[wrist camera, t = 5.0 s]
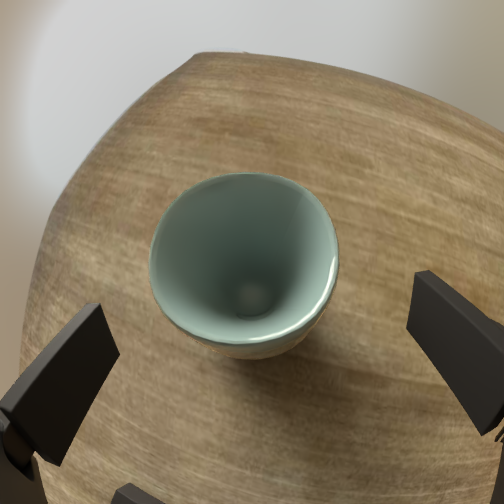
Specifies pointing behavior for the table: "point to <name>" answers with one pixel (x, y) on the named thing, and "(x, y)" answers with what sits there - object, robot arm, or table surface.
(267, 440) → the table surface
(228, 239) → the cup
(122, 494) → the control pad
